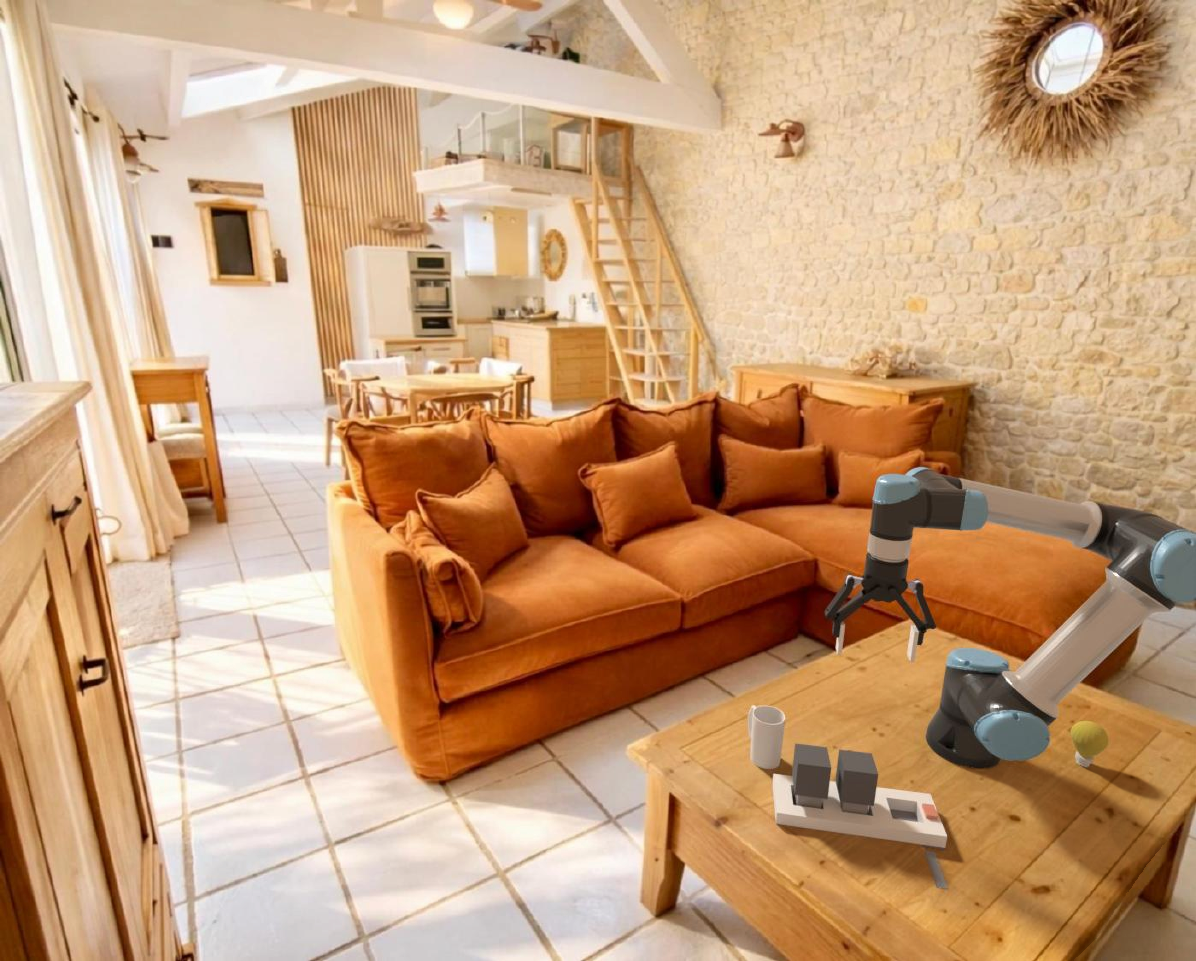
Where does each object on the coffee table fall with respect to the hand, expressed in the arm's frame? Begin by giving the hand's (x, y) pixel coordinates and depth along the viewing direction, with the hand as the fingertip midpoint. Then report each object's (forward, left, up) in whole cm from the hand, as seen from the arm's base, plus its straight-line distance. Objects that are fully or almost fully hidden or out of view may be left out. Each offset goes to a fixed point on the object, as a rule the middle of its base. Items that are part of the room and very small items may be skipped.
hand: (874, 654), depth 136 cm
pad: (-6, +23, -29) cm, 37 cm away
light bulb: (-49, -14, -29) cm, 59 cm away
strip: (+3, +13, -29) cm, 31 cm away
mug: (+20, -2, -29) cm, 35 cm away
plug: (+4, +13, -28) cm, 31 cm away
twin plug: (+12, +13, -28) cm, 33 cm away
